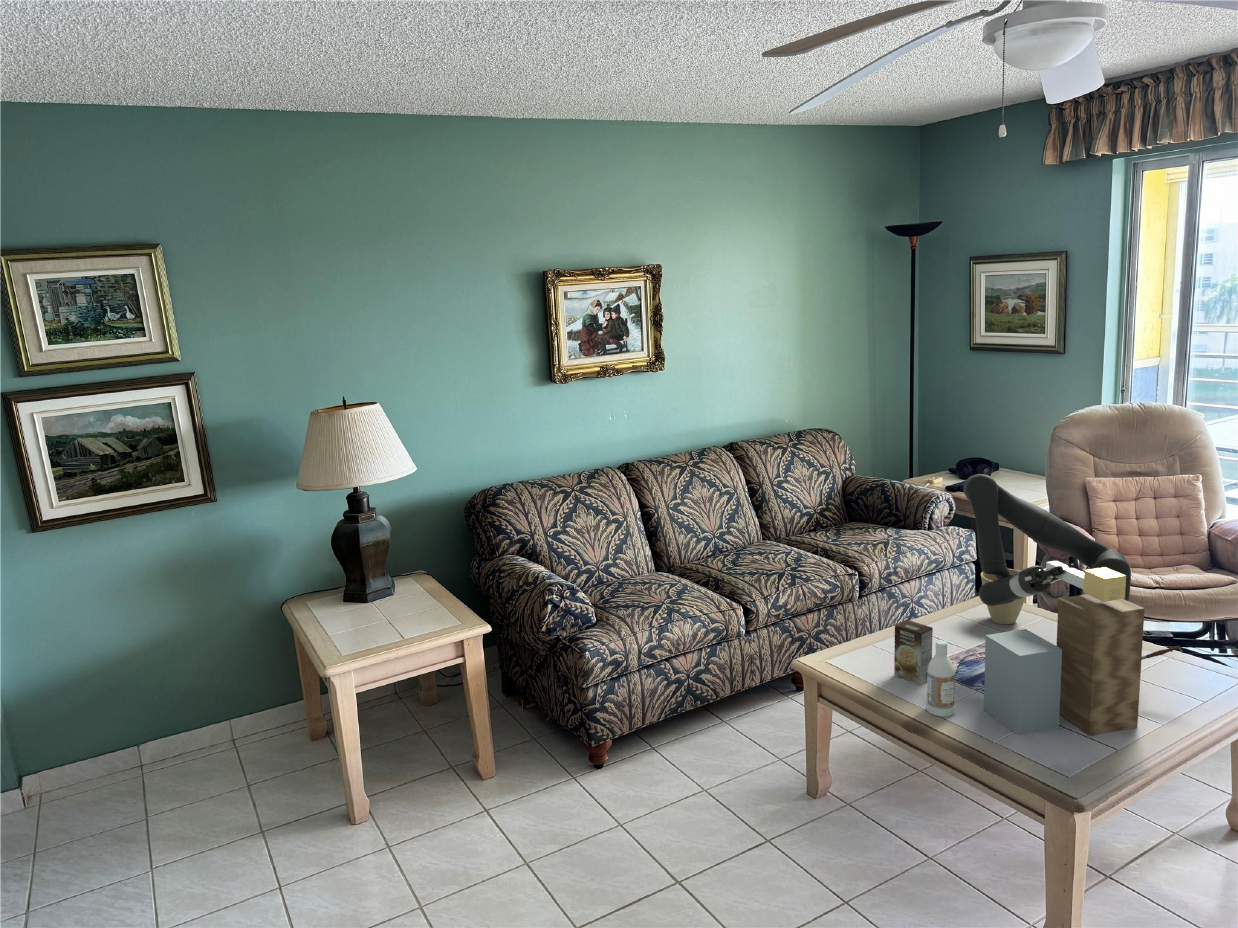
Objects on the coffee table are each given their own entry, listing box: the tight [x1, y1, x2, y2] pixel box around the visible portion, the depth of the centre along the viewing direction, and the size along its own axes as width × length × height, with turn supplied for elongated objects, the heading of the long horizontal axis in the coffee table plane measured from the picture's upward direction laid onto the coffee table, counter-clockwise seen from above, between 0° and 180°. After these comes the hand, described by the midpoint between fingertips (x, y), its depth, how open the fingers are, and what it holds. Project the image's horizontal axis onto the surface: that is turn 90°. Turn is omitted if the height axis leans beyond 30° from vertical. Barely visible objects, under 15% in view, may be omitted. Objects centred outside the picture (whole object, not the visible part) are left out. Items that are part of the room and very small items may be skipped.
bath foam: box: [926, 639, 956, 718], centre depth 235 cm, size 7×7×20 cm
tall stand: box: [1056, 593, 1145, 737], centre depth 225 cm, size 14×13×32 cm
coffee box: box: [893, 618, 934, 686], centre depth 256 cm, size 9×6×16 cm
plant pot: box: [980, 568, 1026, 625], centre depth 293 cm, size 15×15×16 cm
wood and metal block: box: [1045, 560, 1126, 602], centre depth 227 cm, size 6×23×6 cm, turn 12°
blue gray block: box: [983, 628, 1062, 736], centre depth 229 cm, size 12×14×22 cm
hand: (1067, 568), depth 232 cm, fingers closed on wood and metal block, 3 cm apart
